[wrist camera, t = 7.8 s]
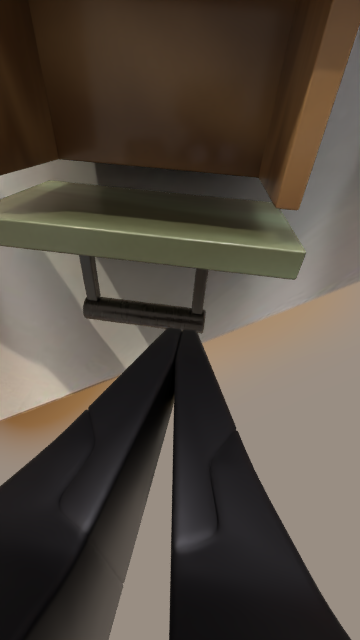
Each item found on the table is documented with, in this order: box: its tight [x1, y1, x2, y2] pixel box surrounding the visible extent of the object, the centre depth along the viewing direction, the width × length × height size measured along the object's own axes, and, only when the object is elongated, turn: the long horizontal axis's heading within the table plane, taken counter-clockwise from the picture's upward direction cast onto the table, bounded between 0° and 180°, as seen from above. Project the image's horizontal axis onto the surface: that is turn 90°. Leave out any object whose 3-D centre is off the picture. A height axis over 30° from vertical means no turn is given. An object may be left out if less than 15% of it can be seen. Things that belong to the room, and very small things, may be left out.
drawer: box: [0, 0, 360, 333], centre depth 10 cm, size 20×13×7 cm
